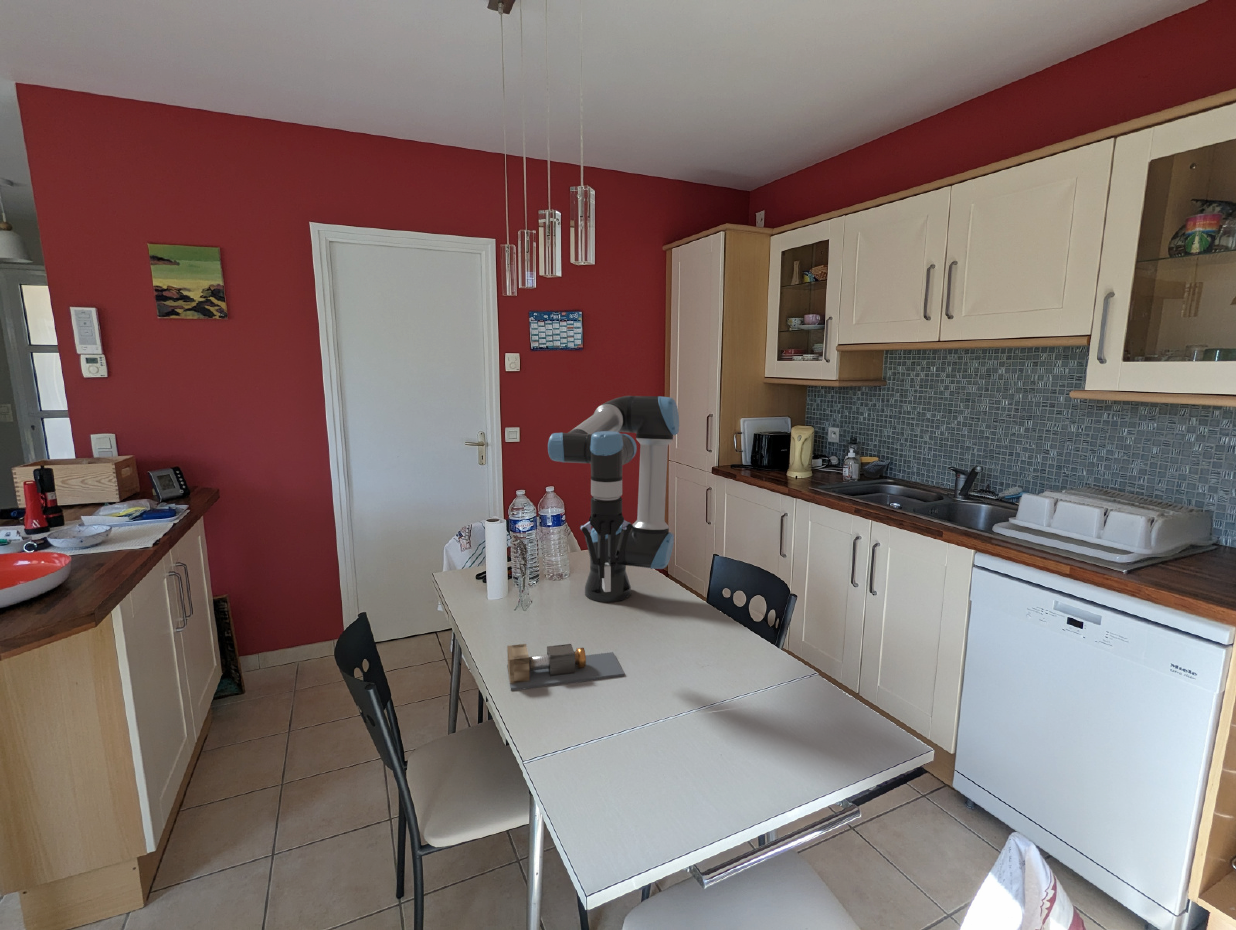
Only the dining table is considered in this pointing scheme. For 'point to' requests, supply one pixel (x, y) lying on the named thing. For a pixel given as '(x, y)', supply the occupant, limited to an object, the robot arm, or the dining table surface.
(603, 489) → the robot arm
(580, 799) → the dining table surface
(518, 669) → the socket block
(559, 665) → the sleeve
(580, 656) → the sliding bolt
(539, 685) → the base mat
